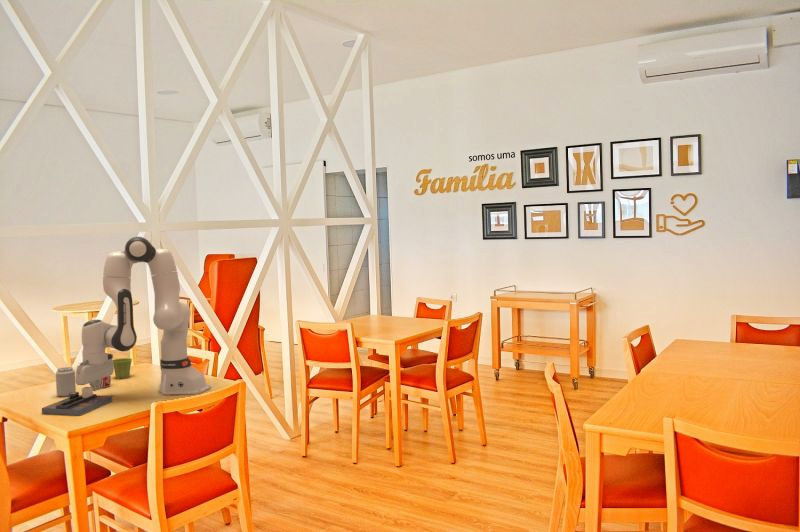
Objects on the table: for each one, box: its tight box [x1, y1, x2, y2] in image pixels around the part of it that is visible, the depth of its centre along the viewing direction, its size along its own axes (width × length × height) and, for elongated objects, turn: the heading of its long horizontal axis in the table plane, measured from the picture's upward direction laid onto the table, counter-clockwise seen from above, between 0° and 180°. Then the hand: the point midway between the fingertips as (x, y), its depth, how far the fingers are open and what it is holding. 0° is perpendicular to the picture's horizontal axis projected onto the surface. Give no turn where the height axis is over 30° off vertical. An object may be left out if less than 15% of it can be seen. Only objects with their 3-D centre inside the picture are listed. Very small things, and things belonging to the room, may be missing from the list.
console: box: [41, 391, 113, 417], centre depth 261 cm, size 17×20×5 cm
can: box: [55, 366, 77, 398], centre depth 281 cm, size 8×8×12 cm
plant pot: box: [112, 357, 133, 380], centre depth 312 cm, size 9×9×9 cm
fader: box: [81, 386, 94, 398], centre depth 266 cm, size 3×3×4 cm
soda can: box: [100, 375, 112, 389], centre depth 294 cm, size 7×7×12 cm
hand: (95, 390), depth 272 cm, fingers closed
